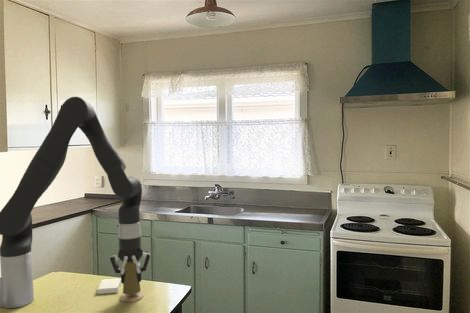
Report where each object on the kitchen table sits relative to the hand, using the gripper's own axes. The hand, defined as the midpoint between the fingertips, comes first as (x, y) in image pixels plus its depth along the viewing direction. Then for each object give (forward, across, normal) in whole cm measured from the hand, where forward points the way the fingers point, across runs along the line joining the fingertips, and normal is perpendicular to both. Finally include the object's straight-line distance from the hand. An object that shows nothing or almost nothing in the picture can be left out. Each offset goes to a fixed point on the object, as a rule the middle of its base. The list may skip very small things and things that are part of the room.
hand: (131, 283), depth 129 cm
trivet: (+5, 0, 0) cm, 5 cm away
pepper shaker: (+3, 0, 0) cm, 3 cm away
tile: (+4, +9, -5) cm, 11 cm away
